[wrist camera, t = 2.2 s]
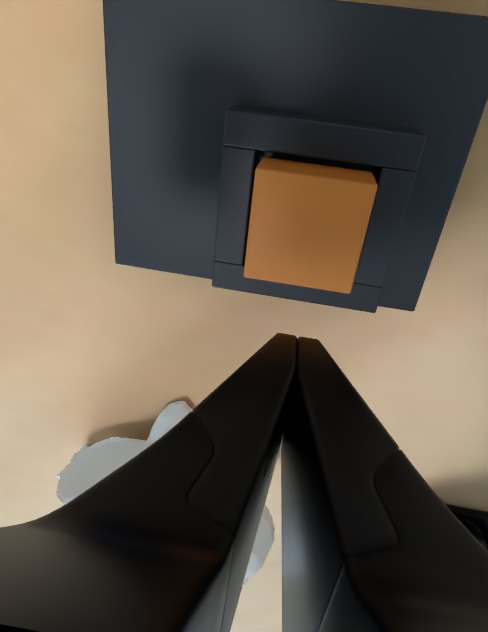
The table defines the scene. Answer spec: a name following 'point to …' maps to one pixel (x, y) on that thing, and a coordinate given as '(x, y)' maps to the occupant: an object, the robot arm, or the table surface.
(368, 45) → the dark grey socket base
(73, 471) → the white lumpy shape
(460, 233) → the table surface
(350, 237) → the key
